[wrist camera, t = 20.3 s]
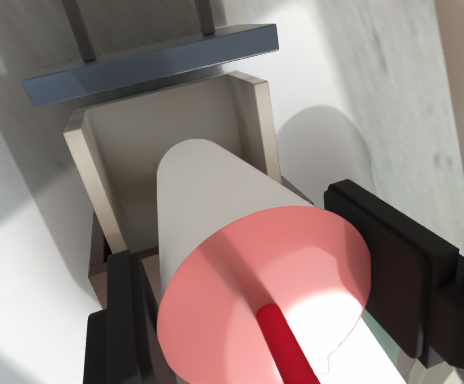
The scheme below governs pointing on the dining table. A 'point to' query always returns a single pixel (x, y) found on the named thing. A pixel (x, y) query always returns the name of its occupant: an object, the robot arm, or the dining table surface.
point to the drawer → (157, 115)
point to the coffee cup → (410, 359)
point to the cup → (250, 272)
